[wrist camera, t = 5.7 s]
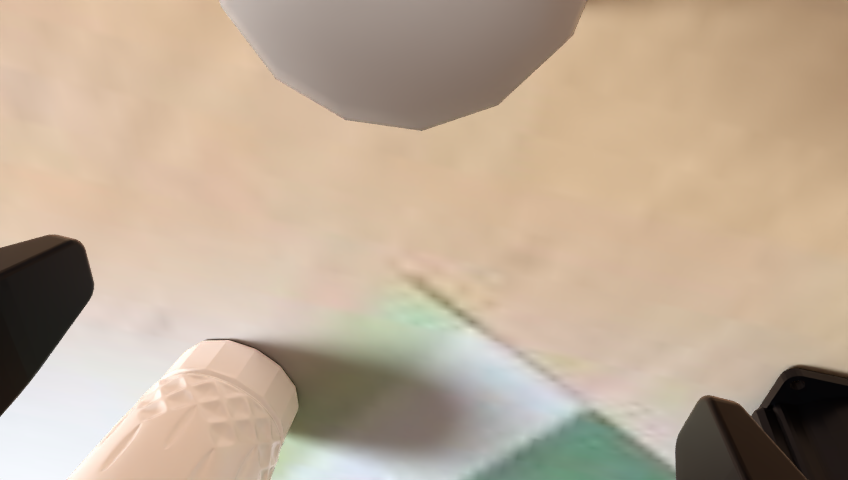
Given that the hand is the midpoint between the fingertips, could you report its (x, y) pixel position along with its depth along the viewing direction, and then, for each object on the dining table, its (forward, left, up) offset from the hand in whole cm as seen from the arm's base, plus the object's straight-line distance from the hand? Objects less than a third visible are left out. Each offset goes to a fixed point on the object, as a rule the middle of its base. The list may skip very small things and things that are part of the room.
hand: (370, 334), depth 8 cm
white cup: (+10, +18, -13) cm, 25 cm away
